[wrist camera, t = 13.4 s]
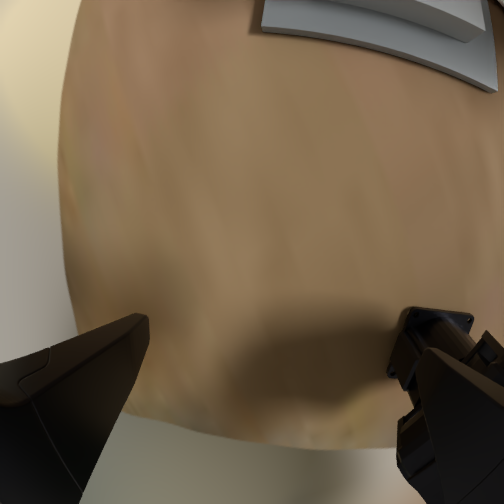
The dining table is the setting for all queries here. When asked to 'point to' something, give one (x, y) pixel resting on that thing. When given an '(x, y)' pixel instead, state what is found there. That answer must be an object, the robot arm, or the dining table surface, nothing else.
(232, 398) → the dining table surface
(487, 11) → the socket block
